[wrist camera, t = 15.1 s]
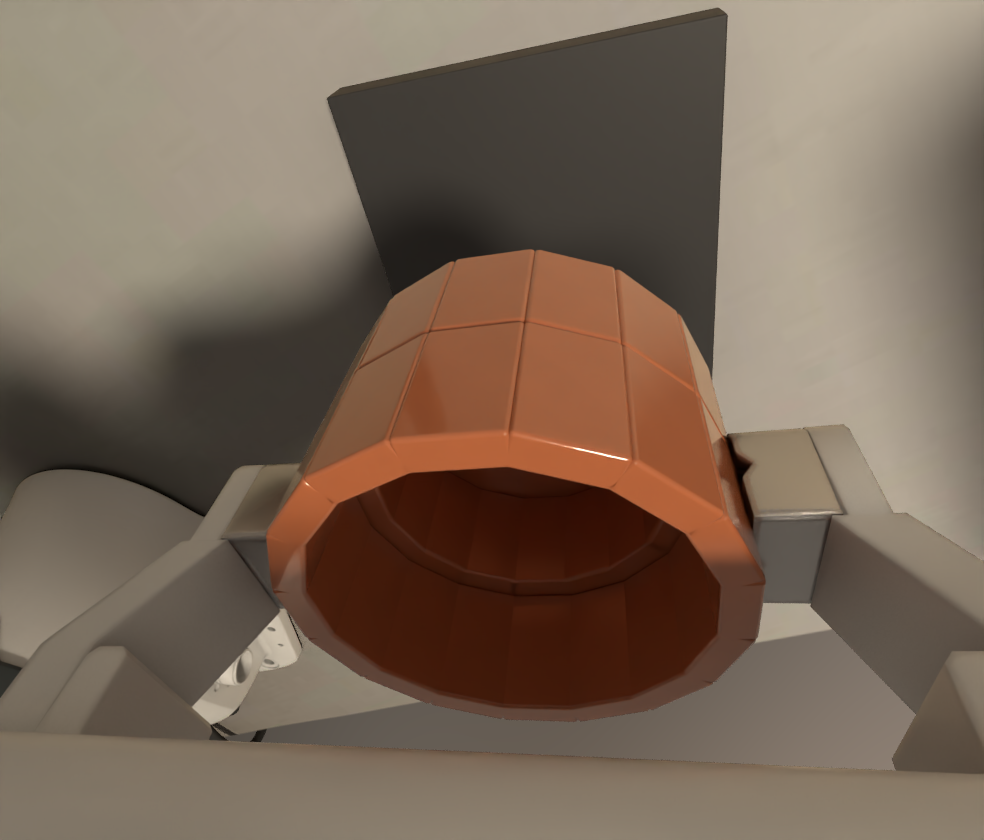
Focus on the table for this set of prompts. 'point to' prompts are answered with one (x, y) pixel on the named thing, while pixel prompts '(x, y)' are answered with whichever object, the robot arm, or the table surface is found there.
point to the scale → (554, 159)
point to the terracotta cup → (523, 500)
